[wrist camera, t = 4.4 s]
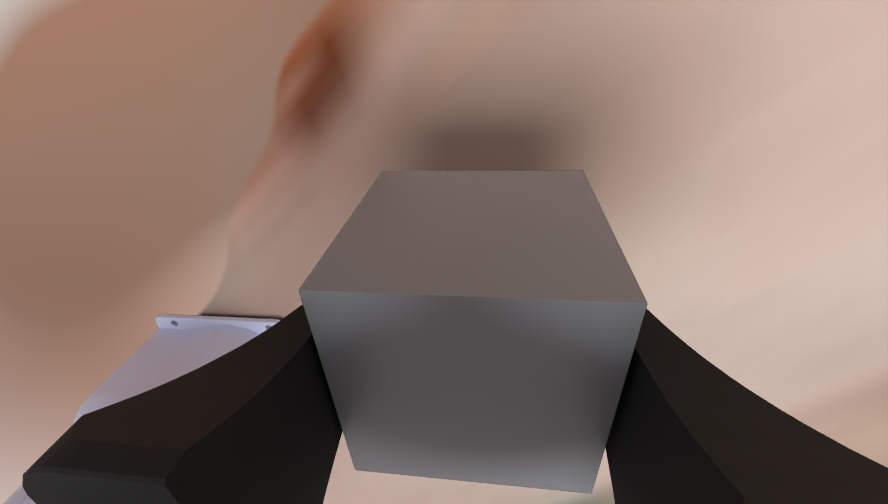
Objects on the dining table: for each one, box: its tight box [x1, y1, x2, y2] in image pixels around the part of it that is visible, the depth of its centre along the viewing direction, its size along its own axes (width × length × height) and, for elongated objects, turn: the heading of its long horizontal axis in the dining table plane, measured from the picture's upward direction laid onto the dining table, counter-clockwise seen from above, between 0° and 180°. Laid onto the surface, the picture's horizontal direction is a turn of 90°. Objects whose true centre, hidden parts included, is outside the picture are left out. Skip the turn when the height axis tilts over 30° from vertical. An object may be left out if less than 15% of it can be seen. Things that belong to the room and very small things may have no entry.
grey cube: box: [299, 170, 648, 494], centre depth 11 cm, size 6×6×6 cm
